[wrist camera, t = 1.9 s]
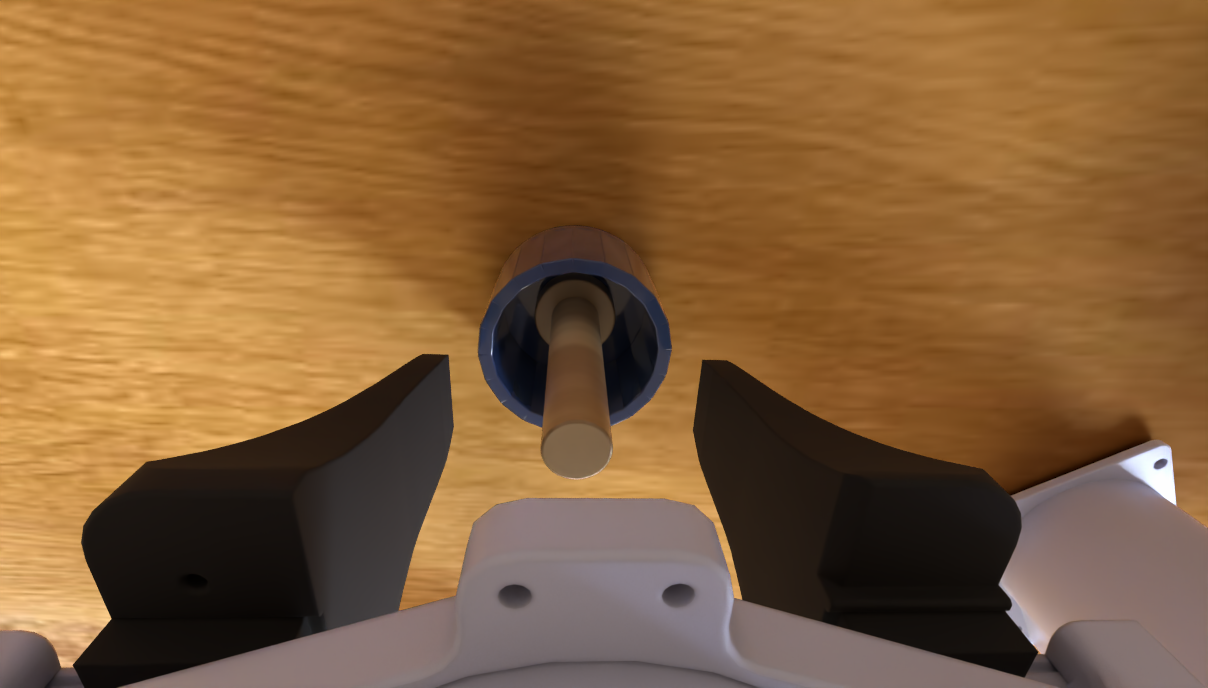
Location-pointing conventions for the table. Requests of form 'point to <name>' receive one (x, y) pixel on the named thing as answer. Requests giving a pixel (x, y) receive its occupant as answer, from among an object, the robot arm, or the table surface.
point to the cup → (522, 354)
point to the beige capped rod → (575, 374)
